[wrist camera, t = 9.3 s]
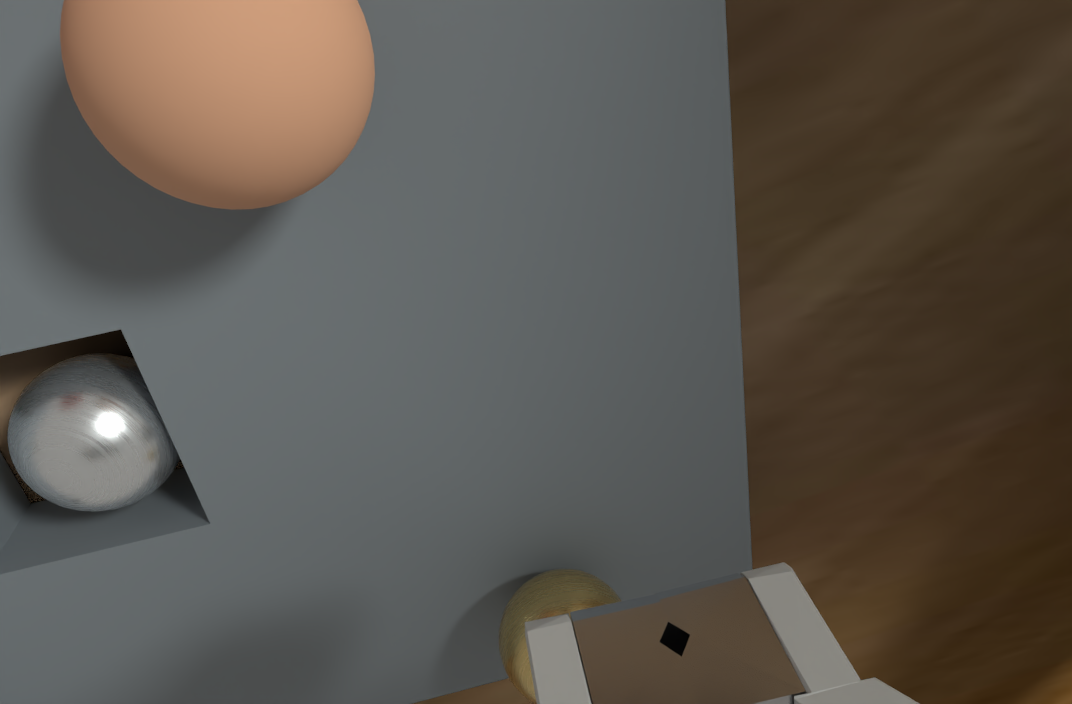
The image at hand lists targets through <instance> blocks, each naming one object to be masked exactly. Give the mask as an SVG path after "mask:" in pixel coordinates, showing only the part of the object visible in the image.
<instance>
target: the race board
mask: <svg viewBox="0 0 1072 704" xmlns="http://www.w3.org/2000/svg"><path fill="white" fill-rule="evenodd" d="M357 1H358V3H359V5H360V7H361V10H362V12H363V14H364V17H365V20H366V23H367V26H368V30H369V33H370V36H371V42H372V47H373V53H374V66H375V81H374V94H373V98H372V103H371V108H370V112H369V115H368V118H367V121H366V124H365V126H364V129H363V131H362V133H361V135H360V137H359V139H358V141H357V143H356V145H355V147H354V148H353V149H352V151H351V152H350V154H349V155H348V157H347V158H346V159H345V161H344V162H343V163H342V164H341V165H340V166H339V167H338V168H337V169H336V170H335V172H334V173H333V174H331V175H330V176H329V177H328V178H326V179H325V180H324V181H323V182H321V183H320V184H319V185H317V186H316V187H314V188H312V189H311V190H309V191H307V192H306V193H304V194H302V195H300V196H297V197H295V198H293V199H290V200H288V201H286V202H283V203H279V204H275V205H272V206H268V207H262V208H255V209H236V210H231V209H221V208H212V207H207V206H203V205H198V204H194V203H190V202H187V201H184V200H182V199H179V198H176V197H173V196H171V195H169V194H167V193H164V192H162V191H160V190H158V189H156V188H154V187H153V186H151V185H149V184H148V183H146V182H144V181H143V180H141V179H140V178H138V177H137V176H135V175H134V174H133V173H132V172H130V171H129V170H128V169H126V168H125V167H124V166H123V165H122V164H120V163H119V162H118V161H117V160H116V159H115V158H114V157H113V156H112V155H111V154H110V153H109V152H108V151H107V150H106V149H105V147H104V146H103V145H102V144H101V142H100V141H99V140H98V139H97V138H96V136H95V135H94V134H93V132H92V131H91V129H90V128H89V126H88V125H87V123H86V121H85V120H84V118H83V117H82V115H81V113H80V111H79V109H78V107H77V105H76V103H75V101H74V99H73V96H72V93H71V90H70V87H69V84H68V82H67V79H66V74H65V70H64V65H63V60H62V54H61V42H60V24H61V12H62V7H63V2H64V0H0V356H2V355H6V354H11V353H15V352H20V351H25V350H29V349H34V348H38V347H43V346H47V345H52V344H57V343H61V342H66V341H70V340H75V339H79V338H84V337H88V336H93V335H98V334H102V333H107V332H111V331H116V330H120V329H121V331H122V333H123V335H124V337H125V339H126V342H127V344H128V346H129V348H130V350H131V352H132V355H133V357H134V359H135V361H136V363H137V365H138V368H139V370H140V372H141V374H142V376H143V378H144V381H145V383H146V385H147V387H148V389H149V392H150V394H151V396H152V398H153V400H154V402H155V405H156V407H157V409H158V411H159V413H160V415H161V418H162V420H163V422H164V424H165V426H166V428H167V431H168V433H169V435H170V437H171V439H172V442H173V444H174V446H175V448H176V450H177V452H178V455H179V457H180V459H181V461H182V463H183V465H184V468H181V469H176V470H174V471H173V472H172V473H171V475H170V476H169V477H168V478H167V480H166V481H165V482H164V483H163V484H162V485H161V486H160V487H158V488H157V489H156V490H155V491H154V492H152V493H151V494H149V495H148V496H146V497H144V498H143V499H141V500H139V501H137V502H135V503H133V504H130V505H127V506H124V507H121V508H118V509H112V510H107V511H97V512H94V511H79V510H73V509H68V508H65V507H62V506H59V505H57V504H54V503H52V502H50V501H48V500H44V501H40V502H36V503H30V502H29V500H28V498H27V497H26V495H25V493H24V491H23V490H22V488H21V486H20V485H19V483H18V481H17V480H16V478H15V476H14V474H13V473H12V471H11V469H10V468H9V466H8V464H7V463H6V461H5V459H4V457H3V456H2V454H1V452H0V704H412V703H416V702H420V701H424V700H427V699H431V698H435V697H439V696H443V695H446V694H450V693H454V692H458V691H462V690H465V689H469V688H473V687H477V686H481V685H484V684H488V683H492V682H496V681H500V680H503V679H507V678H509V677H508V675H507V673H506V671H505V669H504V666H503V663H502V660H501V656H500V651H499V628H500V623H501V619H502V616H503V613H504V610H505V608H506V606H507V604H508V602H509V600H510V599H511V598H512V596H513V595H514V594H515V592H516V591H517V590H518V589H519V588H520V587H521V586H522V585H523V584H524V583H526V582H527V581H528V580H530V579H531V578H533V577H535V576H537V575H539V574H541V573H544V572H547V571H550V570H555V569H575V570H580V571H584V572H586V573H589V574H592V575H594V576H596V577H598V578H599V579H601V580H602V581H604V582H605V583H606V584H608V585H609V586H610V587H611V588H612V589H613V590H614V591H615V592H616V594H617V595H618V596H619V598H620V599H621V601H626V600H630V599H635V598H640V597H645V596H650V595H654V593H658V592H662V591H666V590H670V589H674V588H678V587H682V586H686V585H691V584H695V583H699V582H703V581H707V580H711V579H715V578H719V577H723V576H727V575H731V574H735V573H738V574H741V572H745V571H749V570H752V549H751V528H750V508H749V487H748V466H747V445H746V424H745V403H744V382H743V361H742V340H741V319H740V298H739V278H738V257H737V236H736V215H735V194H734V173H733V152H732V131H731V110H730V89H729V68H728V48H727V27H726V6H725V0H357Z"/></svg>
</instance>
